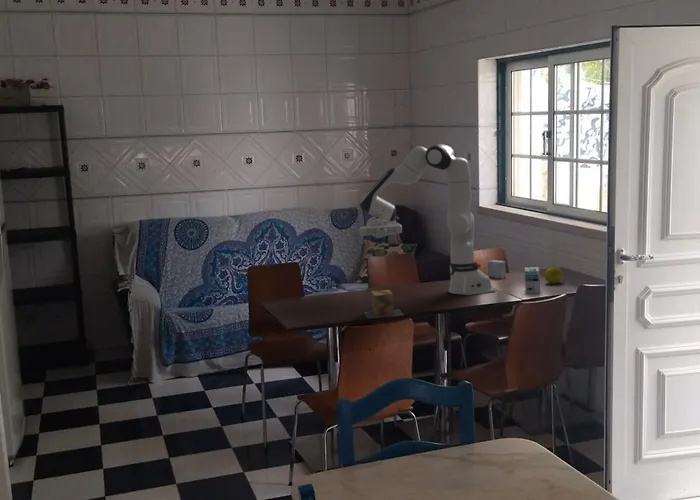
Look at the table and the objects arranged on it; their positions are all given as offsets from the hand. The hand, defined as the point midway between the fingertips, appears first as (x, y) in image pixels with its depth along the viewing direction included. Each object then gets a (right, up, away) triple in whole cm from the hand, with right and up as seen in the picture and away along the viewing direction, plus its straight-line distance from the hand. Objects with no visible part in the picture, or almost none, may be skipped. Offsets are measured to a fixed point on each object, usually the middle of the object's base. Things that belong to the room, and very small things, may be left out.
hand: (382, 231), depth 362 cm
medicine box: (+61, -23, +41) cm, 77 cm away
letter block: (-1, -27, -24) cm, 36 cm away
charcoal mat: (-1, -36, -24) cm, 44 cm away
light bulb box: (+70, -28, +3) cm, 76 cm away
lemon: (+85, -25, +19) cm, 90 cm away
